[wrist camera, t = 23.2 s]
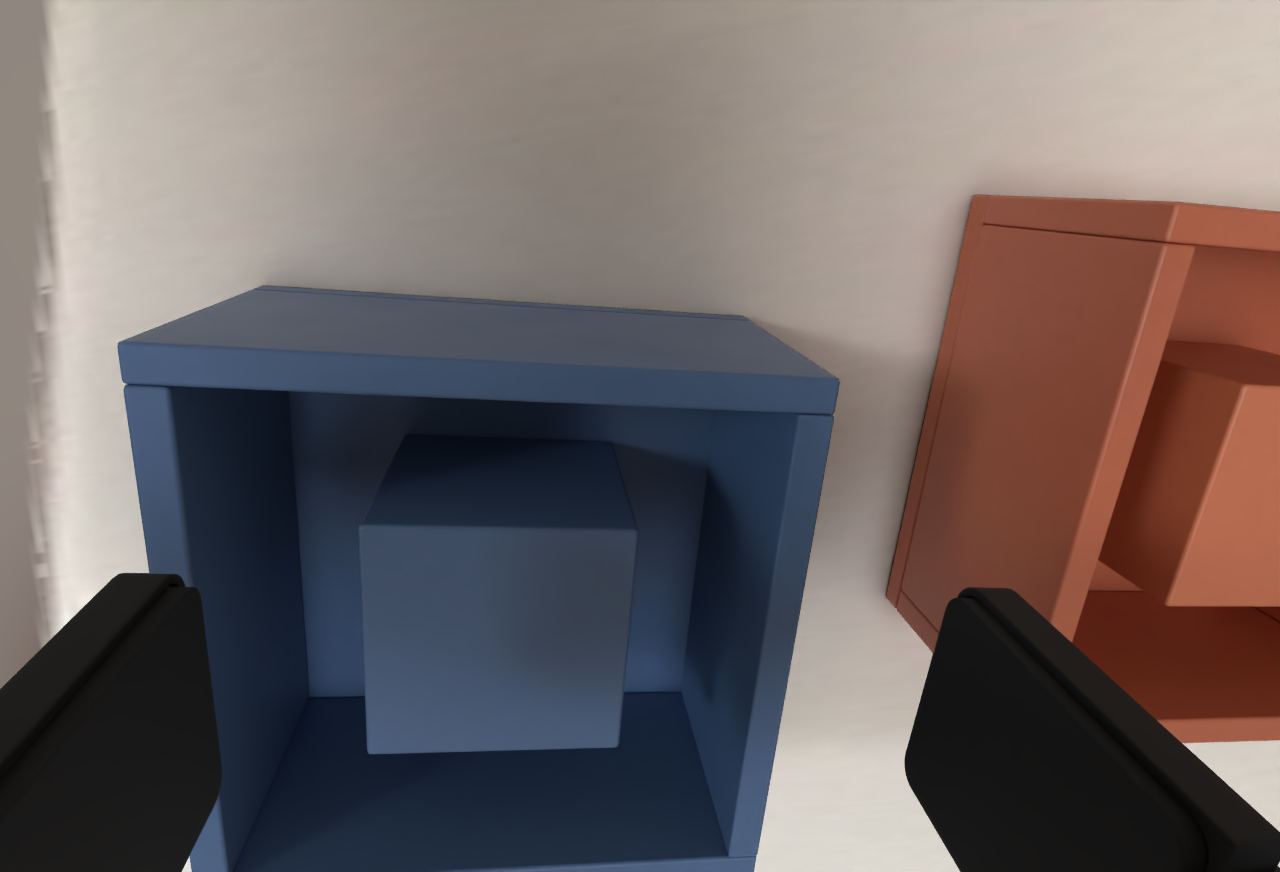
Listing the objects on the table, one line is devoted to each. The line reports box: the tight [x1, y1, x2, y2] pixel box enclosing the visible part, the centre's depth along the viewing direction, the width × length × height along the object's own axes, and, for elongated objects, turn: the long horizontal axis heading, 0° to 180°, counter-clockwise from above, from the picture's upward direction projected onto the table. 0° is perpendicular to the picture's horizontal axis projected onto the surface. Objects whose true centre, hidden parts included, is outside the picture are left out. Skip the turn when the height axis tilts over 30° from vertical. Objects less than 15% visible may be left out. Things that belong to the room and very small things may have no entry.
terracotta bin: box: [886, 195, 1280, 743], centre depth 16 cm, size 10×10×6 cm
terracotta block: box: [1098, 341, 1280, 607], centre depth 16 cm, size 4×4×4 cm
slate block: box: [358, 434, 639, 754], centre depth 15 cm, size 4×4×4 cm
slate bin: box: [118, 285, 840, 872], centre depth 15 cm, size 10×10×6 cm
